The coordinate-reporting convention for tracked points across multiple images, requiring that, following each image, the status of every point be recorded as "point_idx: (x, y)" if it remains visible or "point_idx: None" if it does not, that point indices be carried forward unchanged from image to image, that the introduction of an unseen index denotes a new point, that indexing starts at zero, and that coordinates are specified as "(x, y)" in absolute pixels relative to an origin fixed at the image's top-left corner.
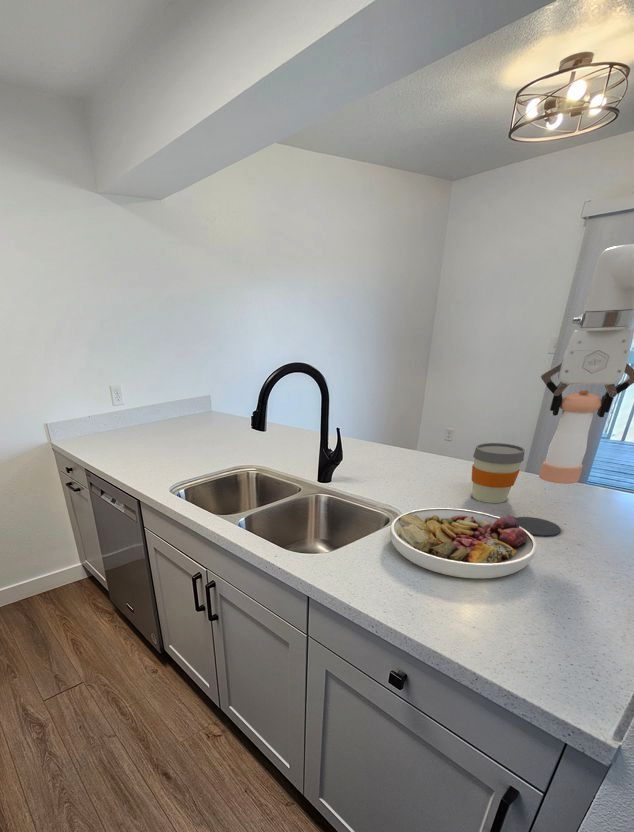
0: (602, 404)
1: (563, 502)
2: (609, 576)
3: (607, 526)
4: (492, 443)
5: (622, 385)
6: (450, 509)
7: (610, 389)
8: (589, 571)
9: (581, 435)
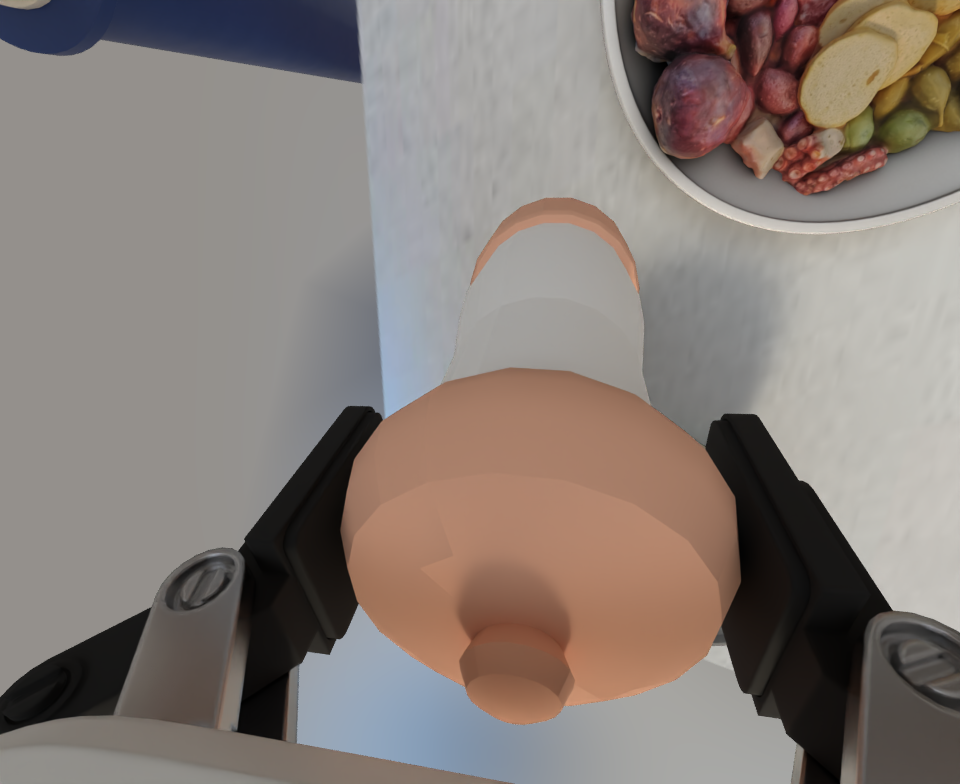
0: (338, 498)
1: None
2: (393, 32)
3: (414, 378)
4: (722, 642)
5: (60, 708)
6: (893, 211)
7: (196, 646)
8: (439, 39)
9: (490, 308)
